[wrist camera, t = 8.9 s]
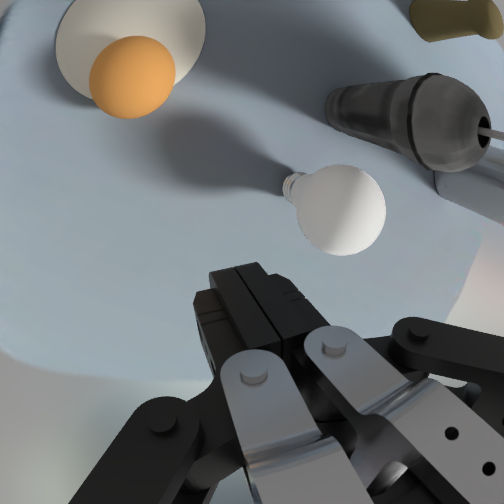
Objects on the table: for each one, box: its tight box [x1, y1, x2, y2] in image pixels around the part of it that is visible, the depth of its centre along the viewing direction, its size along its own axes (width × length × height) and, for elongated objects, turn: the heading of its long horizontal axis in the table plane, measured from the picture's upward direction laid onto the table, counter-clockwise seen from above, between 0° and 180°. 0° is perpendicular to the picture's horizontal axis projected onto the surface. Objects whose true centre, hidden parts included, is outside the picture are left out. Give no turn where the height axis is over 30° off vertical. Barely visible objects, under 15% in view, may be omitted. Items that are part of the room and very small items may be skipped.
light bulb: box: [282, 164, 386, 256], centre depth 24 cm, size 7×7×11 cm
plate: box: [56, 0, 206, 100], centre depth 18 cm, size 12×12×1 cm
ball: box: [89, 36, 176, 119], centre depth 17 cm, size 6×6×6 cm
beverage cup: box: [325, 73, 504, 172], centre depth 19 cm, size 7×7×20 cm
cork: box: [409, 0, 504, 42], centre depth 21 cm, size 6×6×11 cm
